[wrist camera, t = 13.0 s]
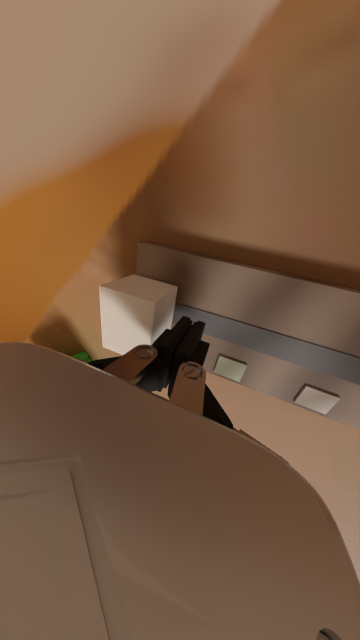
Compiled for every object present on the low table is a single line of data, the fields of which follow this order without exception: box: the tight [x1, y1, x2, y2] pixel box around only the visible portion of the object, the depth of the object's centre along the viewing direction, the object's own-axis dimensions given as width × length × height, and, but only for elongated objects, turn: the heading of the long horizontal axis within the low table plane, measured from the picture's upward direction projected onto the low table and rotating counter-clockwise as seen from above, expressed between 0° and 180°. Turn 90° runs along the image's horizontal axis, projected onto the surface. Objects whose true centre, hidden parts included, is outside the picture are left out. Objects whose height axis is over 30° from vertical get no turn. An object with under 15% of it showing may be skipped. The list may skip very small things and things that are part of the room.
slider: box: [99, 274, 178, 355], centre depth 13 cm, size 4×5×4 cm
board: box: [136, 242, 360, 429], centre depth 14 cm, size 22×10×2 cm, turn 80°
